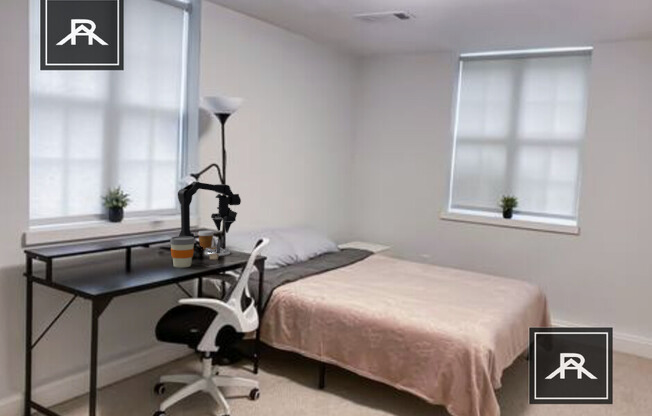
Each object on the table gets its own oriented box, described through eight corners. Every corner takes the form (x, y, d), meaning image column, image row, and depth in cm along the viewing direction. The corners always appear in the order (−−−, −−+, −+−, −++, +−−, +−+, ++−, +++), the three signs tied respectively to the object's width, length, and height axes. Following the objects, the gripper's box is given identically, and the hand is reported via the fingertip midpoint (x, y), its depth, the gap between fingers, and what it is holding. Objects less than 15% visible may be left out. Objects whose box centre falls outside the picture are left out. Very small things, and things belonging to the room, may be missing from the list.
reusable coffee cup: (164, 266, 280) (164, 238, 278) (181, 262, 291) (181, 235, 289) (182, 269, 274) (183, 240, 272) (199, 265, 285) (199, 237, 283)
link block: (216, 262, 295) (216, 254, 294) (209, 261, 295) (209, 254, 294) (218, 260, 299) (218, 253, 298) (210, 260, 299) (211, 253, 298)
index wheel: (214, 257, 301) (214, 240, 300) (199, 253, 311) (199, 237, 310) (234, 254, 312) (235, 238, 311) (220, 250, 322) (220, 235, 321)
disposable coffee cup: (194, 251, 324) (194, 231, 323) (204, 248, 333) (204, 229, 332) (207, 252, 320) (207, 233, 319) (216, 250, 329) (216, 231, 328)
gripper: (243, 206, 310) (243, 233, 312) (227, 203, 324) (226, 229, 326) (227, 207, 303) (226, 234, 304) (211, 204, 317) (210, 230, 318)
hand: (222, 231), depth 313 cm, fingers open, 9 cm apart
